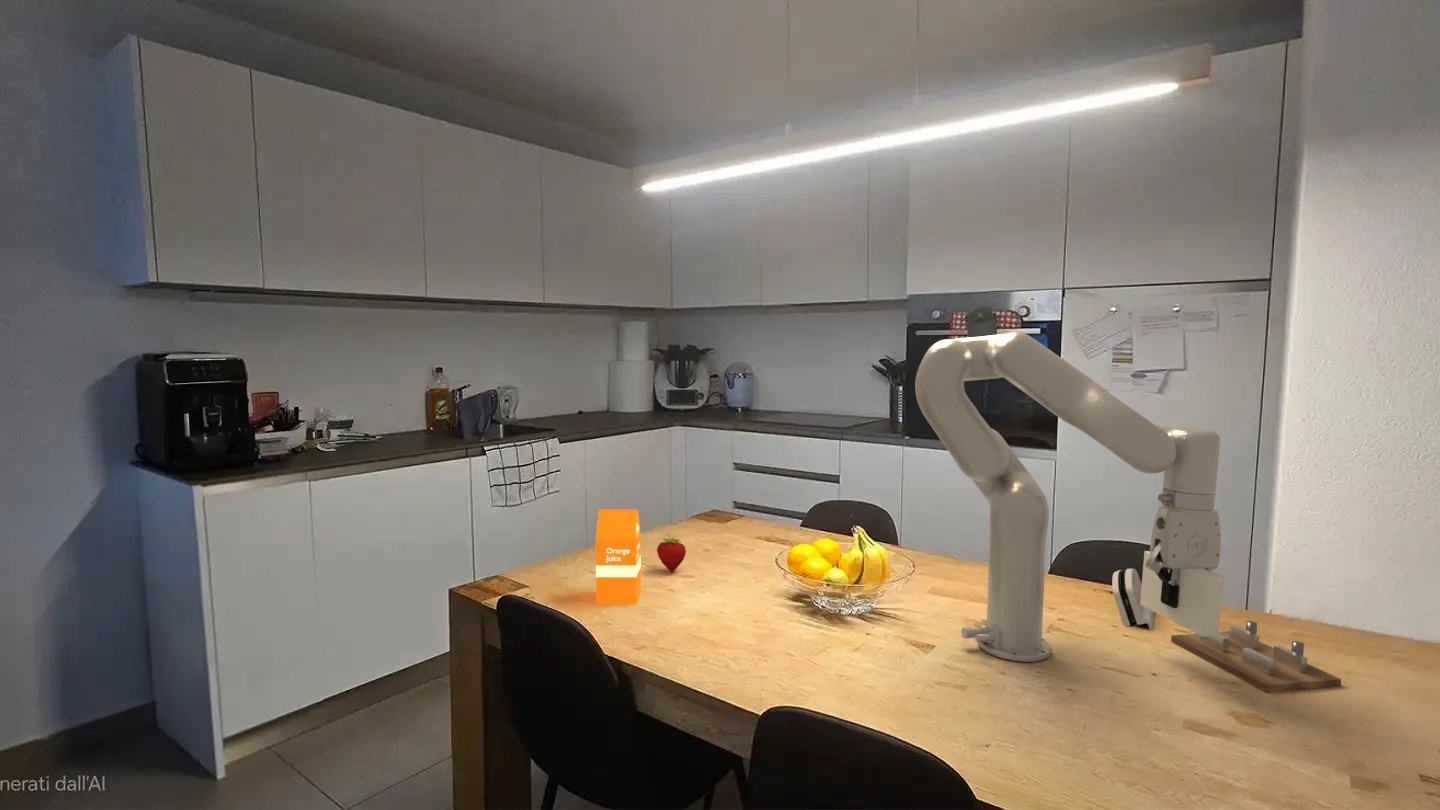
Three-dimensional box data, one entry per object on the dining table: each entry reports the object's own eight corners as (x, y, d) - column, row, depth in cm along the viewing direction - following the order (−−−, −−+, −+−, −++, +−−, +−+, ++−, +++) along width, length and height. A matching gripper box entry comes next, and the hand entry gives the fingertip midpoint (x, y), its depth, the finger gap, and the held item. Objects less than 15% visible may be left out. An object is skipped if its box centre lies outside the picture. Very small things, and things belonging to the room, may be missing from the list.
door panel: (1202, 636, 117) (1207, 577, 116) (1140, 604, 131) (1144, 551, 130) (1218, 635, 117) (1224, 576, 116) (1154, 604, 131) (1159, 550, 130)
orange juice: (636, 604, 155) (635, 513, 154) (596, 604, 156) (594, 513, 154) (641, 591, 163) (640, 505, 162) (602, 591, 163) (601, 505, 162)
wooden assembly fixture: (1266, 692, 116) (1268, 661, 115) (1171, 641, 135) (1172, 614, 135) (1340, 686, 118) (1343, 655, 117) (1236, 636, 138) (1237, 610, 137)
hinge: (1152, 630, 141) (1135, 581, 142) (1126, 633, 143) (1109, 585, 144) (1155, 604, 155) (1139, 559, 156) (1131, 607, 157) (1115, 563, 158)
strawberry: (679, 577, 173) (679, 537, 172) (652, 573, 176) (651, 533, 175) (690, 570, 178) (690, 531, 177) (664, 566, 181) (663, 527, 181)
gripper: (1161, 506, 117) (1152, 614, 119) (1249, 505, 120) (1238, 611, 121) (1128, 496, 124) (1120, 598, 126) (1211, 495, 127) (1202, 595, 129)
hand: (1178, 603), depth 124 cm, fingers closed on door panel, 3 cm apart
